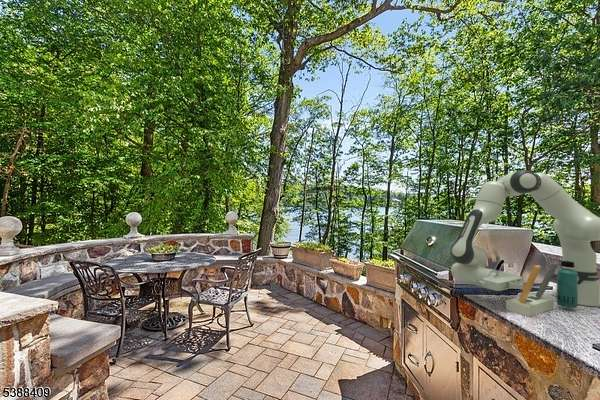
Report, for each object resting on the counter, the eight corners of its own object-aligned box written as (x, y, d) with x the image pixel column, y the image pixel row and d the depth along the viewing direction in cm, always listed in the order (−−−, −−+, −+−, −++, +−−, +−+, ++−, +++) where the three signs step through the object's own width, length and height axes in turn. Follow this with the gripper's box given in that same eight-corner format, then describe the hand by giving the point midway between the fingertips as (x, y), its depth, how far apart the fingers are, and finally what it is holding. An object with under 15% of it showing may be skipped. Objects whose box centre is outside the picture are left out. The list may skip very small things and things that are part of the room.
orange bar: (522, 299, 117) (537, 264, 112) (525, 301, 116) (541, 266, 111) (518, 300, 115) (533, 265, 111) (521, 302, 114) (537, 267, 110)
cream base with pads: (530, 302, 127) (530, 292, 127) (553, 308, 120) (553, 298, 120) (506, 309, 118) (506, 299, 118) (529, 316, 110) (529, 305, 110)
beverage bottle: (568, 306, 122) (569, 259, 123) (582, 312, 116) (583, 263, 116) (552, 305, 123) (552, 259, 123) (565, 311, 116) (565, 262, 117)
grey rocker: (538, 294, 123) (555, 262, 118) (542, 296, 122) (558, 263, 117) (535, 295, 122) (551, 262, 117) (538, 297, 121) (555, 264, 116)
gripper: (474, 274, 122) (511, 282, 110) (500, 269, 131) (537, 276, 119) (474, 289, 122) (511, 298, 109) (500, 283, 131) (537, 291, 119)
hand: (525, 287), depth 114 cm, fingers closed, pressing on orange bar
